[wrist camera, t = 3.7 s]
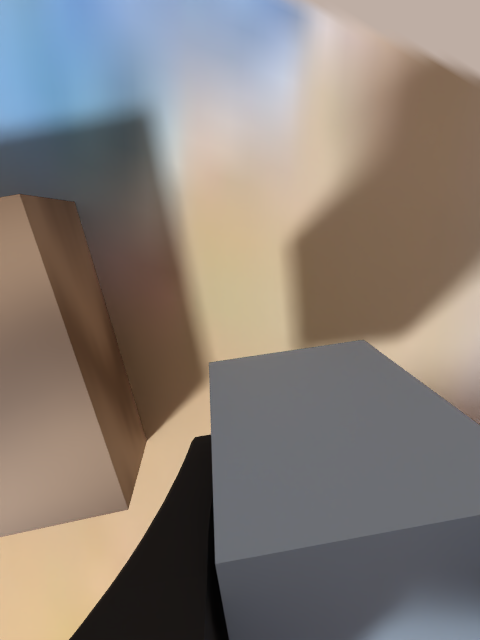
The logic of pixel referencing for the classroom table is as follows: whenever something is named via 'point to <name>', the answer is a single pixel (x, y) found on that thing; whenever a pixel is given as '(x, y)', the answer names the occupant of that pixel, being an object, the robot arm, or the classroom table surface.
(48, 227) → the walnut base
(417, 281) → the classroom table surface
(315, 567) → the grey block
